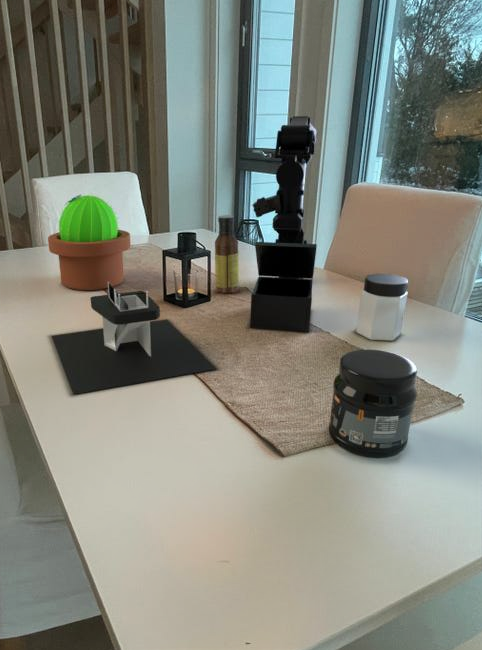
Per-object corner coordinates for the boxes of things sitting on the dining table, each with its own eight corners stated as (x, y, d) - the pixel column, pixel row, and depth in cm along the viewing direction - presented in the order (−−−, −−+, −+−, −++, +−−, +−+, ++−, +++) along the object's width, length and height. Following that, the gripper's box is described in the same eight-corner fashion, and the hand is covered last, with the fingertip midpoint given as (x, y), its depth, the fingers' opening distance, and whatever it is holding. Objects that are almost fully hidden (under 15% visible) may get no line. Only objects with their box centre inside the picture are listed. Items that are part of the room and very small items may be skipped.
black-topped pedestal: (51, 336, 110) (44, 275, 104) (166, 320, 118) (165, 263, 113) (73, 394, 85) (65, 320, 80) (216, 369, 94) (217, 299, 88)
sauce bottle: (238, 287, 141) (240, 214, 133) (238, 294, 135) (241, 218, 127) (214, 287, 141) (215, 214, 133) (213, 294, 135) (214, 218, 128)
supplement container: (355, 412, 79) (365, 341, 74) (421, 442, 71) (437, 365, 66) (312, 437, 73) (320, 361, 68) (379, 472, 65) (393, 389, 60)
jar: (409, 338, 106) (419, 282, 101) (377, 344, 103) (385, 286, 99) (379, 324, 114) (387, 271, 109) (348, 329, 111) (355, 275, 106)
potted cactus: (146, 278, 150) (142, 190, 141) (97, 298, 133) (89, 199, 124) (89, 269, 161) (82, 186, 152) (37, 286, 144) (26, 195, 135)
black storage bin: (308, 332, 109) (312, 298, 106) (249, 328, 112) (251, 294, 109) (309, 310, 122) (312, 279, 119) (257, 307, 125) (258, 276, 122)
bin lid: (316, 247, 105) (316, 244, 105) (254, 245, 108) (255, 241, 108) (312, 278, 119) (313, 275, 119) (258, 275, 122) (258, 272, 122)
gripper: (260, 180, 127) (257, 242, 133) (251, 188, 110) (248, 259, 116) (306, 180, 124) (301, 244, 130) (304, 189, 107) (298, 262, 114)
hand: (286, 252), depth 123 cm, fingers open, 9 cm apart
